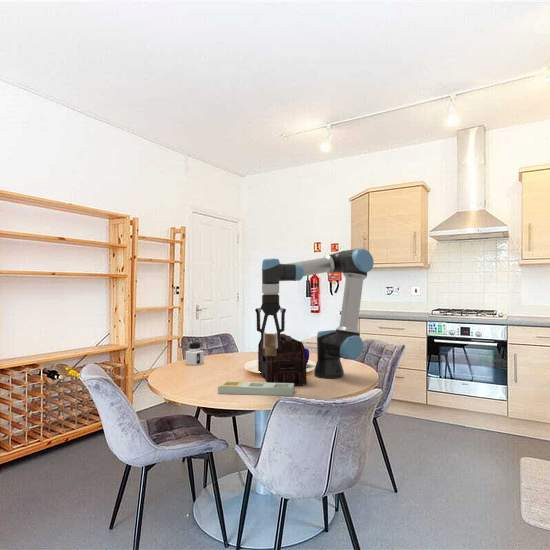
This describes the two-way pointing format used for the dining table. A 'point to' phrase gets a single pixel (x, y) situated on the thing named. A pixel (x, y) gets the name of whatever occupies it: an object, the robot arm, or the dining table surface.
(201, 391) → the dining table surface
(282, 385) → the sorting tray
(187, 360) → the container
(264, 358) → the crate
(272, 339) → the walnut block
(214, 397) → the dining table surface
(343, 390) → the dining table surface
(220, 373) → the dining table surface
